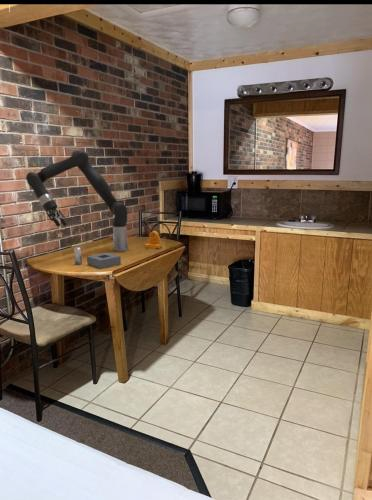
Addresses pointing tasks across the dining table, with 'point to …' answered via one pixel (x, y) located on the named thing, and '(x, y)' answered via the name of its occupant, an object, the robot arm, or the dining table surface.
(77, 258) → the steel pin
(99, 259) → the socket block
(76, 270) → the dining table surface
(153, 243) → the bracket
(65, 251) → the dining table surface
